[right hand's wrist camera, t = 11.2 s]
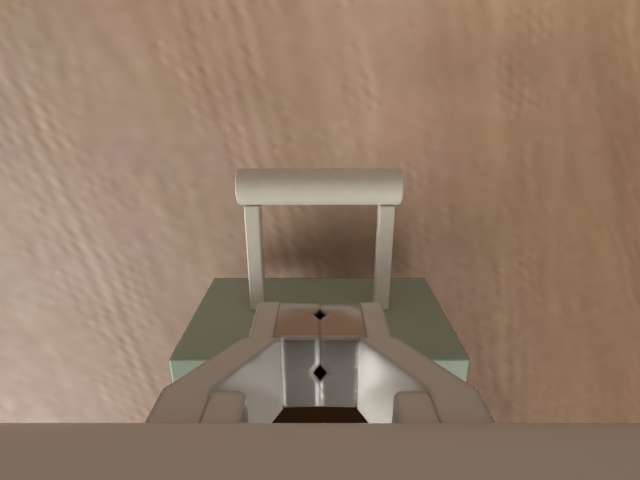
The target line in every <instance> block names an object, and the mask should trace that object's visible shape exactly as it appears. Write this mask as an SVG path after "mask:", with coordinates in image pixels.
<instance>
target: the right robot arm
mask: <svg viewBox="0 0 640 480" xmlns="http://www.w3.org/2000/svg"><path fill="white" fill-rule="evenodd" d="M315 406H324V407H357V409H358V410H359V412H360V413H361V414H362V415H363V417H364V418H365V419H366V420H367V421H368V423H272V422H273V421H274V419H275V418H276V417H277V416H278V415H279V413H280V412H281V411H282V410H283V407H315ZM0 480H640V423H495V422H494V420H493V418H492V416H491V414H490V412H489V411H488V409H487V407H486V405H485V403H484V401H483V399H482V397H481V395H480V393H479V391H478V390H477V389H475V388H474V387H472V386H471V385H469V384H468V383H466V382H465V381H463V380H462V379H460V378H459V377H457V376H456V375H454V374H452V373H451V372H449V371H448V370H446V369H445V368H443V367H442V366H440V365H439V364H437V363H436V362H434V361H433V360H431V359H429V358H428V357H426V356H425V355H423V354H422V353H420V352H419V351H417V350H416V349H414V348H413V347H411V346H410V345H408V344H407V343H405V342H403V341H402V340H400V339H399V338H396V337H391V334H390V330H389V327H388V324H387V320H386V317H385V314H384V310H383V307H382V304H381V303H380V302H363V303H360V302H347V303H292V302H281V303H280V302H260V303H259V304H258V306H257V310H256V313H255V317H254V320H253V323H252V327H251V330H250V334H249V337H245V338H241V339H240V340H238V341H236V342H235V343H233V344H232V345H230V346H229V347H227V348H226V349H224V350H223V351H221V352H220V353H218V354H217V355H215V356H213V357H212V358H210V359H209V360H207V361H206V362H204V363H203V364H201V365H200V366H198V367H197V368H195V369H193V370H192V371H190V372H189V373H187V374H186V375H184V376H183V377H181V378H180V379H178V380H177V381H175V382H173V383H172V384H170V385H169V386H167V387H166V388H164V389H163V390H162V392H161V394H160V396H159V398H158V399H157V401H156V403H155V405H154V407H153V409H152V411H151V413H150V414H149V416H148V418H147V420H146V422H145V423H0Z"/></svg>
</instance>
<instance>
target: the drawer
mask: <svg viewBox="0 0 640 480" xmlns="http://www.w3.org/2000/svg"><path fill="white" fill-rule="evenodd" d="M403 193H404V177H403V172H402V170H401V169H238V170H237V172H236V176H235V195H236V200H237V202H238V204H239V205H245V206H244V219H245V234H246V249H247V263H248V278H215V279H214V280H213V282H212V284H211V286H210V287H209V289H208V291H207V293H206V295H205V296H204V298H203V300H202V302H201V303H200V305H199V307H198V309H197V311H196V312H195V314H194V316H193V318H192V319H191V321H190V323H189V325H188V327H187V328H186V330H185V332H184V334H183V336H182V337H181V339H180V341H179V343H178V344H177V346H176V348H175V350H174V352H173V353H172V355H171V357H170V359H169V363H170V370H171V376H172V383H173V382H175V381H177V380H178V379H180V378H181V377H183V376H184V375H186V374H187V373H189V372H190V371H192V370H193V369H195V368H197V367H198V366H200V365H201V364H203V363H204V362H206V361H207V360H209V359H210V358H212V357H213V356H215V355H217V354H218V353H220V352H221V351H223V350H224V349H226V348H227V347H229V346H230V345H232V344H233V343H235V342H236V341H238V340H240V339H241V338H245V337H249V334H250V330H251V327H252V323H253V320H254V317H255V313H256V310H257V306H258V304H259V303H260V302H280V303H281V302H292V303H347V302H360V303H363V302H380V303H381V304H382V307H383V310H384V314H385V317H386V320H387V324H388V327H389V330H390V334H391V337H396V338H399V339H400V340H402V341H403V342H405V343H407V344H408V345H410V346H411V347H413V348H414V349H416V350H417V351H419V352H420V353H422V354H423V355H425V356H426V357H428V358H429V359H431V360H433V361H434V362H436V363H437V364H439V365H440V366H442V367H443V368H445V369H446V370H448V371H449V372H451V373H452V374H454V375H456V376H457V377H459V378H460V379H462V380H463V381H465V382H466V383H467V376H468V369H469V363H470V359H469V357H468V355H467V353H466V351H465V350H464V348H463V346H462V344H461V342H460V341H459V339H458V337H457V335H456V333H455V332H454V330H453V328H452V326H451V325H450V323H449V321H448V319H447V317H446V316H445V314H444V312H443V310H442V308H441V307H440V305H439V303H438V301H437V300H436V298H435V296H434V294H433V292H432V291H431V289H430V287H429V285H428V284H427V282H426V280H425V278H391V264H392V249H393V234H394V218H395V206H394V205H399V204H401V202H402V199H403ZM261 205H378V212H377V232H376V251H375V271H374V278H265V271H264V252H263V233H262V214H261ZM272 423H368V421H367V420H366V419H365V418H364V417H363V415H362V414H361V413H360V412H359V410H358V409H357V407H324V406H315V407H283V410H282V411H281V412H280V413H279V415H278V416H277V417H276V418H275V419H274V421H273V422H272Z"/></svg>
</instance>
